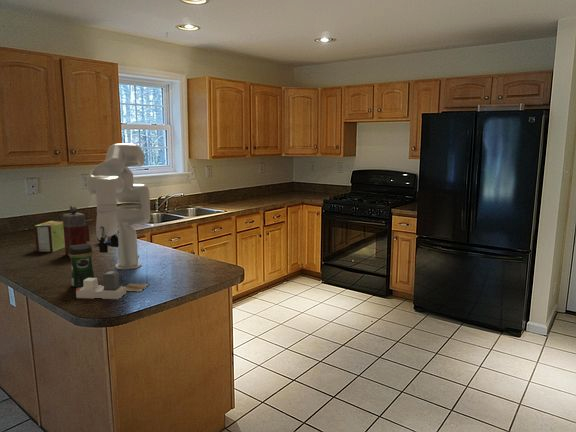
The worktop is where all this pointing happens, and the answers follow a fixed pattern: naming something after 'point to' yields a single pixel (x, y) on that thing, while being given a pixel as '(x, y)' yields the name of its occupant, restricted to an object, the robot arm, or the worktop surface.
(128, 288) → the coaster
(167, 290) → the worktop surface
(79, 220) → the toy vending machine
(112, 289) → the block
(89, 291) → the power strip
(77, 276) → the coffee jar
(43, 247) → the protein box
